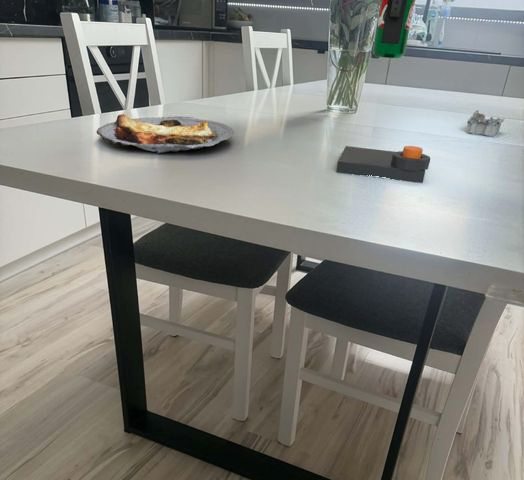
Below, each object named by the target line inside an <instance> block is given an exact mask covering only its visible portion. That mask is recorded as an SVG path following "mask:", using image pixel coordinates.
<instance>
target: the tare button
mask: <svg viewBox="0 0 524 480" xmlns="http://www.w3.org/2000/svg"><path fill="white" fill-rule="evenodd" d="M402 151H403V153H402V156H403V157H407V158H414V159H421V155H422V154H423V148H422V147H420V146H415V145H405V146H403V149H402Z"/></svg>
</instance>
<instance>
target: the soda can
mask: <svg viewBox="0 0 524 480" xmlns="http://www.w3.org/2000/svg"><path fill="white" fill-rule="evenodd" d="M387 3H388V0H380V1H379V8H378V15H377V20H376V26H375V27H376V28H375V33H374V39H373V46H372V53H373V55H374V57H378V58H387V59H401V58H403V56H404V55H405V54H406V49H407V44H408V39H409V34H410V29H411V25H412V18H413V14H414V9H415V3H416V0H407V4H406V9H405V14H404V20H403V25H402V31H401V36H400V41H399V44H387V43H381V39H382V33H383V27H384V21H385V15H386V9H387Z"/></svg>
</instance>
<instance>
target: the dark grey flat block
mask: <svg viewBox="0 0 524 480" xmlns="http://www.w3.org/2000/svg"><path fill="white" fill-rule="evenodd" d="M402 153H403V150H401V151H400V150H399V151H392V150H383V149H376V148H375V149H374V148H367V147H357V146H350V145H346V146H344V149H343V151H342V152H341V155H340V156H339V158H338V160H337V164H336V171H335V173H338V174H345V175H352V174H354V175H353V176H360V175H368V176H369V175H370V176H371V175H372V176H379V177H386V178H390V179H389V180H392V179H394V180H393V181H400V180H401V181H403V182H407V183H417V184H423V183H424V179H425V174H426V171H427V170H429V167H430V162H431V156H429V155H427V154H425V153H422V155H421V159H414V158H407V157H403V156H402ZM368 176H367V177H368Z"/></svg>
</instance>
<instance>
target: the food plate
mask: <svg viewBox="0 0 524 480" xmlns="http://www.w3.org/2000/svg"><path fill="white" fill-rule="evenodd" d="M96 134H97V135H99V136H100V137H101V139H102V140H105V141H109V144H111V143H112V144H114V145H115V144H117V143H120V144H121V145H122V146H130V145H131V146H135V147H137V148H139V149H142V150H145V151H148V152H154V153H155V152H157V154H160V153H167V152H179V151H188V150H197V149H202V148H205V147H206V148H208V147H212V146H214V145H217V144H220V142H223V141H226V140H230V138H231V137H233V136H234V135H235V128H234V127H231V126H229V125H228V124H226V123H223V122H220V121H213V120H208V119H200V118H196V117H191V116H161V117H159V116H158V117H153V116H152V117H137V118H136V117H135V118H131V117H130V116H129V115H127V114H123V113H122V114H118V115H117V116H116V119H115V121H114V122H108V123H106V124H104V125H102V126H100V127H98V128H97V130H96Z"/></svg>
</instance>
